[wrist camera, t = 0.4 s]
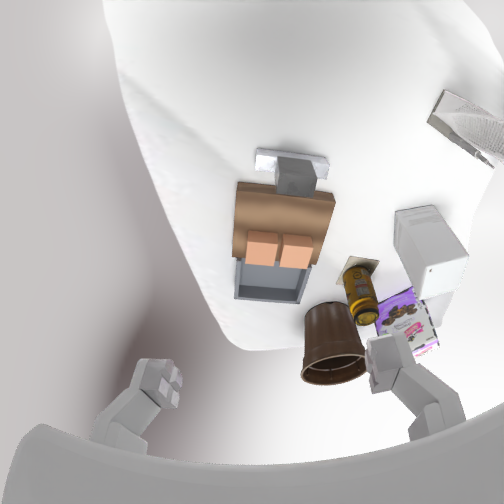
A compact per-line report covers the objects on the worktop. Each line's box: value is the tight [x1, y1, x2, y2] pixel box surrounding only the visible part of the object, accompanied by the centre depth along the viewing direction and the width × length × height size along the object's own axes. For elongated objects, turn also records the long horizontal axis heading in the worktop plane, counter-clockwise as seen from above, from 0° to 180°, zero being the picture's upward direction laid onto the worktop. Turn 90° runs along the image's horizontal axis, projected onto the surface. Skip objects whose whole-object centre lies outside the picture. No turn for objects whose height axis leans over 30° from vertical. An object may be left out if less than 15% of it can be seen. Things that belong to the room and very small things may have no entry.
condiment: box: [336, 256, 380, 326], centre depth 54 cm, size 7×8×12 cm
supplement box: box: [394, 205, 469, 301], centre depth 44 cm, size 9×9×15 cm
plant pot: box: [301, 302, 367, 385], centre depth 63 cm, size 16×16×16 cm
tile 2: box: [245, 230, 278, 266], centre depth 49 cm, size 5×5×3 cm
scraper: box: [255, 148, 330, 198], centre depth 39 cm, size 3×11×9 cm, turn 85°
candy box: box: [374, 287, 440, 359], centre depth 59 cm, size 14×6×16 cm, turn 129°
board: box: [232, 182, 336, 265], centre depth 49 cm, size 14×16×3 cm
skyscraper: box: [427, 90, 504, 169], centre depth 23 cm, size 8×8×28 cm
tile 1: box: [279, 234, 313, 269], centre depth 49 cm, size 5×5×3 cm
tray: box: [234, 257, 312, 304], centre depth 57 cm, size 11×14×4 cm
